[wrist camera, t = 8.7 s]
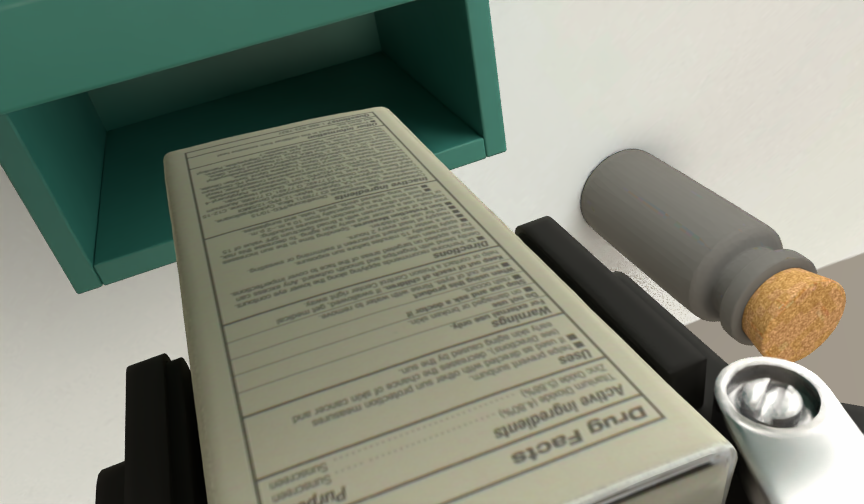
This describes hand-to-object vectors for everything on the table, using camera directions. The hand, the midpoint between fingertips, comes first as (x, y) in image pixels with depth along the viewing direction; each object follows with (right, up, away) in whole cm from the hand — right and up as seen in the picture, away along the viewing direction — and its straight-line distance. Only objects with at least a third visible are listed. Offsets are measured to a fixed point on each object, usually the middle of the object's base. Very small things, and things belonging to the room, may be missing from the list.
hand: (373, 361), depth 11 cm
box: (-2, +3, +5) cm, 6 cm away
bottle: (+13, +6, +33) cm, 36 cm away
